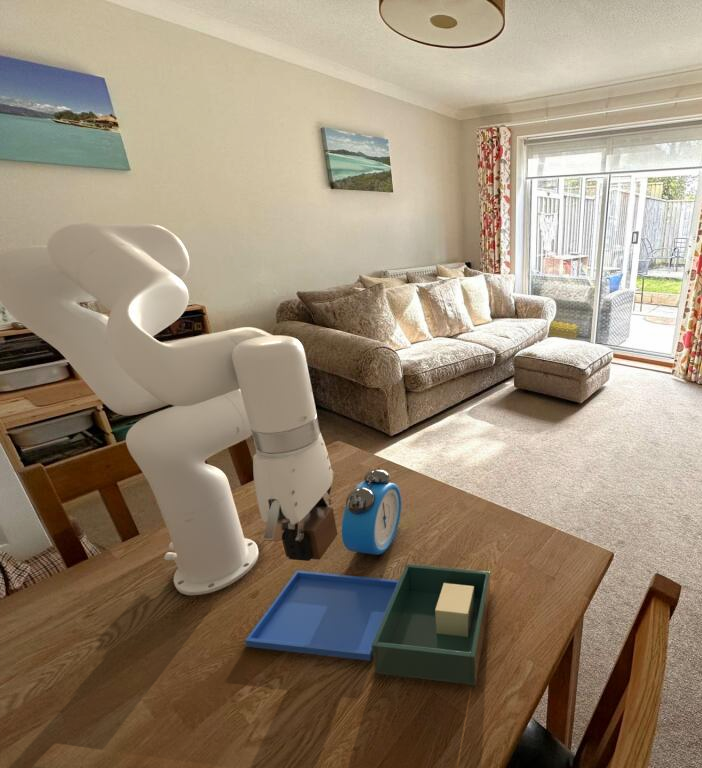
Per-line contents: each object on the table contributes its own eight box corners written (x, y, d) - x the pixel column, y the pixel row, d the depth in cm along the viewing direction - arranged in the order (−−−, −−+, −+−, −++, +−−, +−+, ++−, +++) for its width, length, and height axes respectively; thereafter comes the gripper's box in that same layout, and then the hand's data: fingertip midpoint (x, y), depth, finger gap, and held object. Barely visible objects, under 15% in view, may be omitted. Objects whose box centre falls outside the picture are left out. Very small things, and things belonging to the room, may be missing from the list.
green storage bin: (375, 675, 57) (371, 645, 54) (408, 590, 70) (406, 563, 68) (475, 686, 56) (474, 657, 53) (489, 598, 69) (490, 571, 67)
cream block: (436, 633, 62) (434, 610, 60) (444, 605, 67) (443, 582, 65) (468, 637, 62) (467, 613, 60) (474, 608, 66) (474, 586, 64)
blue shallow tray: (247, 648, 60) (244, 640, 59) (298, 577, 72) (296, 570, 71) (370, 662, 58) (369, 654, 58) (401, 587, 70) (401, 580, 70)
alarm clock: (376, 571, 73) (367, 504, 68) (344, 567, 74) (333, 500, 69) (404, 522, 85) (398, 462, 80) (377, 519, 86) (369, 459, 81)
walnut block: (286, 557, 57) (278, 528, 55) (306, 532, 61) (300, 505, 59) (319, 559, 56) (313, 531, 54) (337, 534, 61) (332, 507, 59)
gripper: (298, 404, 60) (319, 504, 67) (207, 467, 44) (247, 590, 51) (346, 406, 60) (363, 507, 66) (271, 471, 44) (303, 595, 50)
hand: (312, 542), depth 58 cm, fingers closed on walnut block, 5 cm apart
